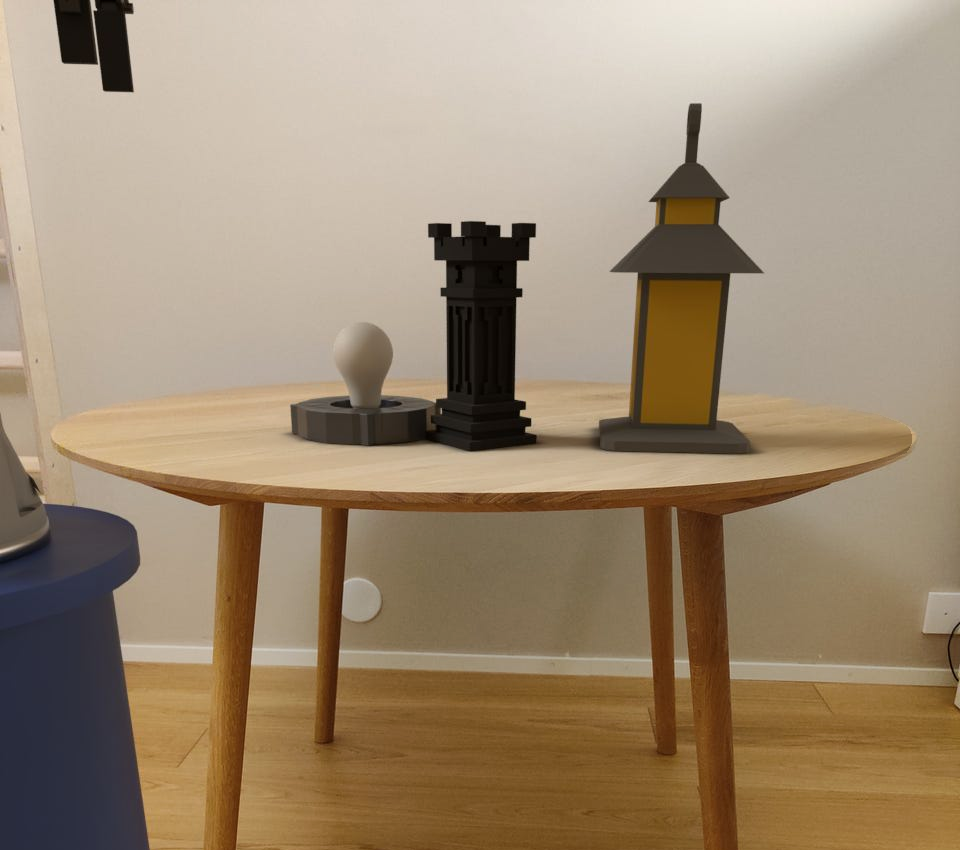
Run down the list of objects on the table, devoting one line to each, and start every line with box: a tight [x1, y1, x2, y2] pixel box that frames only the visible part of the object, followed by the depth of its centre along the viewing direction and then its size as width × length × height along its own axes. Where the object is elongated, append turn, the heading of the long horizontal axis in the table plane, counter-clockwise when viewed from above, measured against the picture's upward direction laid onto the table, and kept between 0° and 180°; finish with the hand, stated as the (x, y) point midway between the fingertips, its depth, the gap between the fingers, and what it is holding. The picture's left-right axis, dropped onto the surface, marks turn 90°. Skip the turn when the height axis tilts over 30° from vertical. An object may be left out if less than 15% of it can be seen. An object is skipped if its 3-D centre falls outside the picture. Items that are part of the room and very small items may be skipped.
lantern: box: [598, 102, 765, 455], centre depth 91 cm, size 14×14×30 cm
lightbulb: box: [332, 321, 394, 409], centre depth 98 cm, size 6×6×11 cm
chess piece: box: [425, 220, 538, 452], centre depth 92 cm, size 8×8×20 cm
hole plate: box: [289, 394, 442, 446], centre depth 99 cm, size 14×14×3 cm
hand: (100, 79), depth 85 cm, fingers open, 13 cm apart
